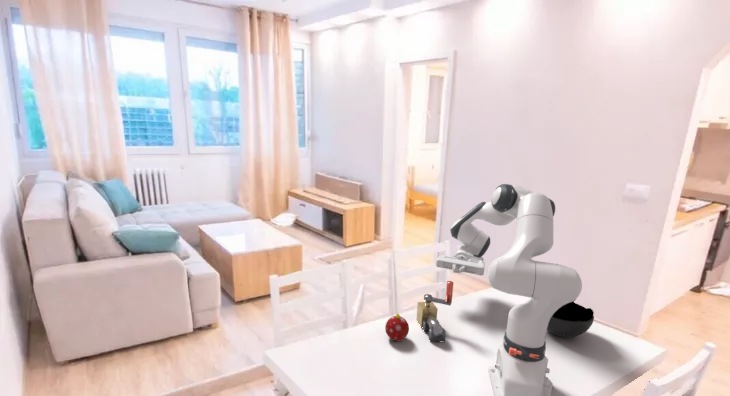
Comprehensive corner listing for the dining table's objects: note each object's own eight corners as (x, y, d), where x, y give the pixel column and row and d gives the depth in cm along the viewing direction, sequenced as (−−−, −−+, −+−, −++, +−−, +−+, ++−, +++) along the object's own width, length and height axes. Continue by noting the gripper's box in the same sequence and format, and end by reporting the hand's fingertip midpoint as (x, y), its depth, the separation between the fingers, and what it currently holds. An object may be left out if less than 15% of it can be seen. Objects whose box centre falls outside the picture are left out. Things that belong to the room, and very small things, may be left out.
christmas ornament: (391, 347, 134) (392, 321, 132) (381, 334, 141) (382, 310, 139) (412, 343, 137) (414, 317, 135) (401, 330, 145) (403, 306, 143)
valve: (416, 320, 153) (418, 298, 151) (430, 319, 154) (432, 297, 152) (430, 343, 137) (432, 319, 135) (446, 342, 138) (448, 318, 136)
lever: (422, 301, 148) (424, 278, 146) (424, 298, 150) (426, 275, 149) (450, 307, 143) (452, 284, 142) (452, 304, 146) (454, 281, 144)
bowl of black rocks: (581, 325, 155) (588, 282, 151) (597, 352, 136) (605, 304, 132) (529, 316, 160) (534, 275, 156) (537, 342, 141) (543, 295, 137)
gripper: (440, 249, 171) (432, 259, 159) (487, 258, 163) (482, 268, 150) (439, 262, 172) (431, 273, 160) (485, 271, 164) (481, 283, 152)
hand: (456, 271), depth 155 cm, fingers closed
